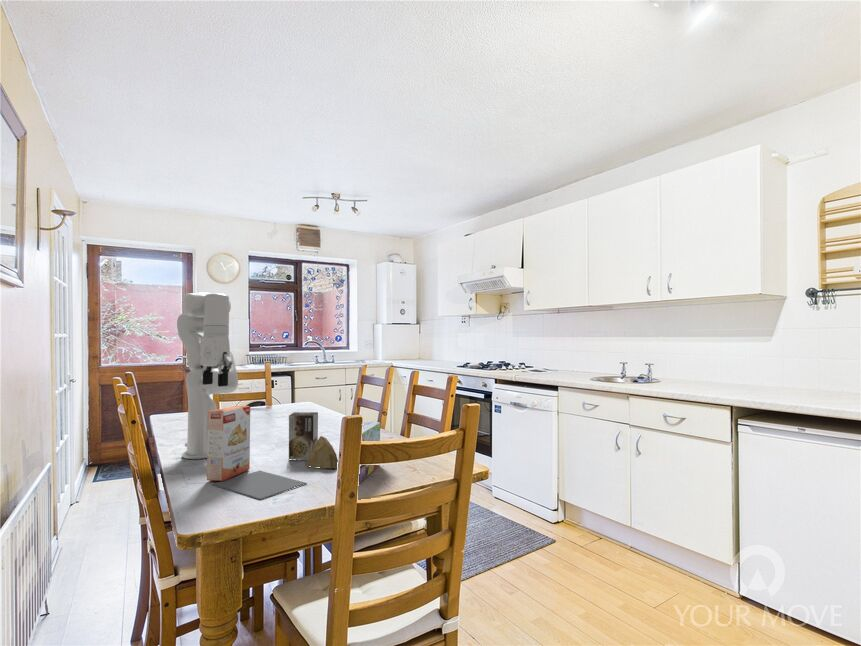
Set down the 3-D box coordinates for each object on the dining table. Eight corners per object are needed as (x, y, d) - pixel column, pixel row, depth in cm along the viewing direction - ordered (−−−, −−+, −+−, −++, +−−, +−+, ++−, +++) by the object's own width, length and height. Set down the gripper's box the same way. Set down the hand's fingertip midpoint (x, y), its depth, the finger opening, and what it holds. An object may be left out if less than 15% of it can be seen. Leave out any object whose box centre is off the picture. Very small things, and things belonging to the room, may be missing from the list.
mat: (212, 485, 134) (212, 483, 134) (259, 471, 147) (259, 470, 148) (260, 500, 122) (260, 498, 122) (306, 484, 135) (306, 482, 136)
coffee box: (318, 456, 167) (318, 411, 168) (313, 460, 161) (314, 414, 161) (293, 455, 167) (294, 411, 168) (287, 460, 161) (288, 414, 161)
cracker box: (223, 482, 136) (223, 411, 137) (206, 481, 137) (206, 411, 138) (251, 469, 149) (251, 405, 150) (234, 468, 150) (234, 405, 152)
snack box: (359, 485, 135) (360, 434, 135) (342, 484, 136) (342, 433, 136) (380, 465, 156) (381, 421, 156) (364, 464, 157) (365, 420, 157)
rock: (347, 460, 153) (334, 450, 161) (335, 443, 149) (322, 433, 157) (322, 484, 148) (310, 472, 156) (308, 466, 145) (296, 455, 152)
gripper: (190, 331, 151) (189, 384, 150) (221, 331, 141) (220, 388, 141) (211, 331, 157) (210, 382, 157) (242, 331, 148) (241, 386, 147)
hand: (215, 384), depth 149 cm, fingers open, 7 cm apart
